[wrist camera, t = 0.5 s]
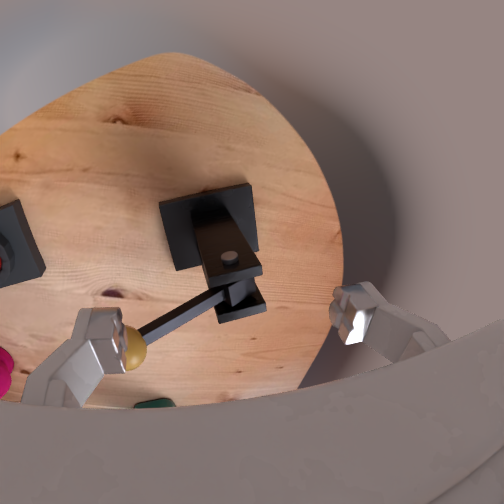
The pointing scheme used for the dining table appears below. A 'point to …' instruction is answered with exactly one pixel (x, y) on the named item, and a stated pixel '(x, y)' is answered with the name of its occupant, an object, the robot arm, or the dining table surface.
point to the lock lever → (183, 317)
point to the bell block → (17, 247)
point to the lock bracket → (217, 241)
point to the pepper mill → (5, 371)
